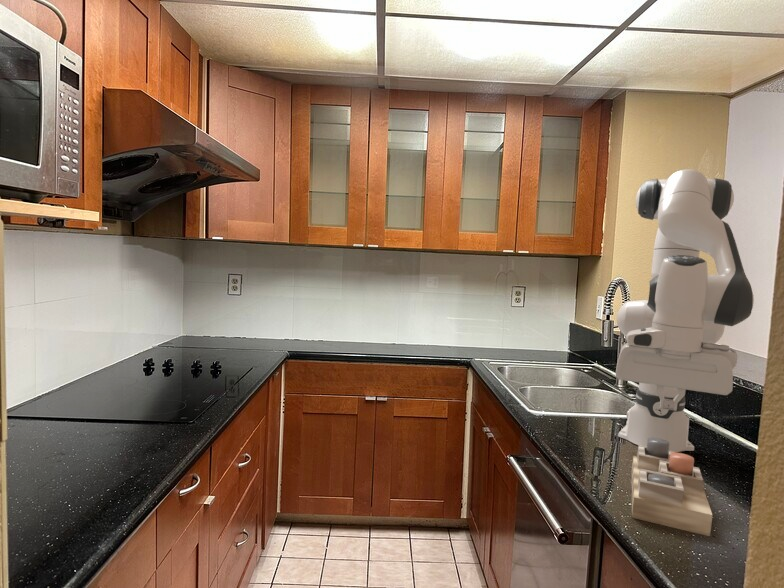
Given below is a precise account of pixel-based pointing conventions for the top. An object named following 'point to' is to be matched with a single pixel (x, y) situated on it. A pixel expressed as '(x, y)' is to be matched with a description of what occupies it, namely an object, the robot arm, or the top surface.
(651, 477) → the button
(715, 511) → the top surface
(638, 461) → the control panel
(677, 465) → the middle button
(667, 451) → the button
